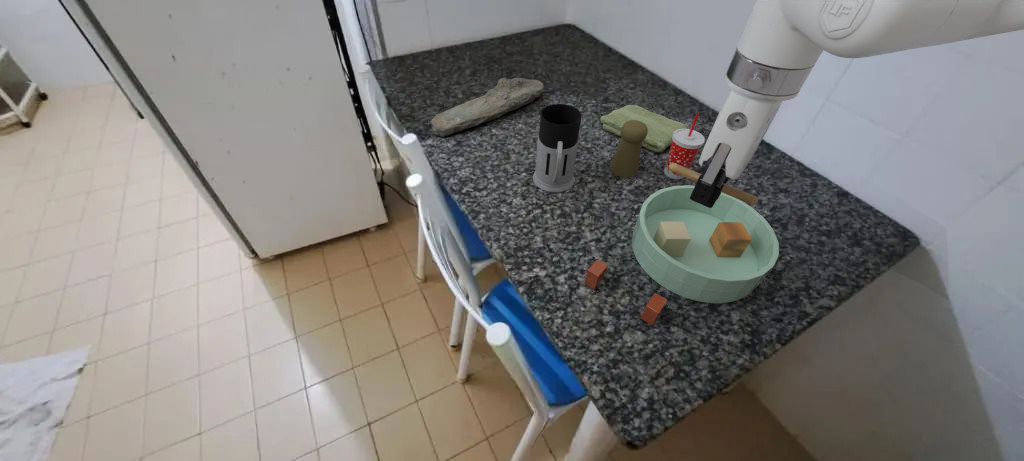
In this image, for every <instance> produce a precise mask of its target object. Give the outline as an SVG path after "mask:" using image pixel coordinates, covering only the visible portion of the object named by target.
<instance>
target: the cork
mask: <svg viewBox="0 0 1024 461" xmlns="http://www.w3.org/2000/svg"><path fill="white" fill-rule="evenodd" d="M647 133H648V129H647V126H646V125H645V124H644V123H643V122H641V121H637V120H630V121H627V122H625V123H624V124H623V126H622V128H621V136H620V137H621V138H620V140H619V143H618V145H617V148H616V150H615V152H614V155H613V157H612V159H611V161H610V165H609V170H610V171H611V173H613V174H614V175H616V176H617V177H620V178H626V179H627V178H633V177H635V176H637V175H638V173H639V168H640V167H639V166H640V160H641V153H642V147H643V146H642V141H643V140H645V138H646V136H647Z"/></svg>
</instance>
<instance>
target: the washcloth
mask: <svg viewBox="0 0 1024 461" xmlns="http://www.w3.org/2000/svg"><path fill="white" fill-rule="evenodd" d="M599 120H600V123H602V129H603V130H604V131H607V132H608V133H609V132H610V133H611V134H614V135H615V136H618V137H621V128H622V126H623V124H624V123H625V122H627V121H630V120H637V121H641V122H643V123H644V124H645V125H646V126H647V129H648V133H647V136H646V138H645V140H643V141H642V146H641V147H643V148H645V149H648V150H649V151H653V152H654V153H662V152H664V151H665V150H666V149H667V148H669V147H671V144H672V136H673V133H674V131H676V130H677V129H688V128H687V126H686V125H685V124H684V123H683V122H680V121H677V120H672V119H670V118H668V117H666V116H664V115H661V114H658V113H656V112H653V111H650V110H648V109H646V108H644V107H641V106H639V105H638V104H637V105H636V104H627V105H624V106H623V107H621V108H616V109H614V110H612V112H610V113H609V114H606V115H602V116H601V117H600V118H599Z"/></svg>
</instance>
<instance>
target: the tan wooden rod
mask: <svg viewBox="0 0 1024 461" xmlns="http://www.w3.org/2000/svg"><path fill="white" fill-rule="evenodd" d="M669 170H670V171H672V172H674V173H676V174H679V175H681V176H684V178H686V179H688V180H691V181H693V182H696V183H697V181H698V178H699V176H700V175H701V174H702V173H699V172H698V171H695V170H693V169H690V168H689V169H688V168H685V167H683V166H680V165H678V164H675V163H672V164H670V165H669ZM723 184H724V183H723ZM721 192H722V193H724V194H727V195H729V196H731V197H734V198H736V199H739V200H741V201H743V202H744V203H746V204H747V205H750V206H751V205H752V206H753V205H756V204H757V203H758V200H759V199H758V196H756V195H754V194H751V193H749V192H747V191H744V190H743V189H742V190H741V189H739V188H736V187H735V186H732V185H729V184H727V183H726V184H724V187H723V189H722V191H721Z"/></svg>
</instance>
